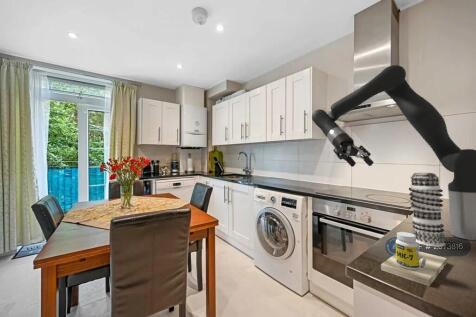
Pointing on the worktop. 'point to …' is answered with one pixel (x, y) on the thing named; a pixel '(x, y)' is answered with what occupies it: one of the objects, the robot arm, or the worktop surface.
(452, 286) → the worktop surface
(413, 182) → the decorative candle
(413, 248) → the supplement bottle
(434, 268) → the board
